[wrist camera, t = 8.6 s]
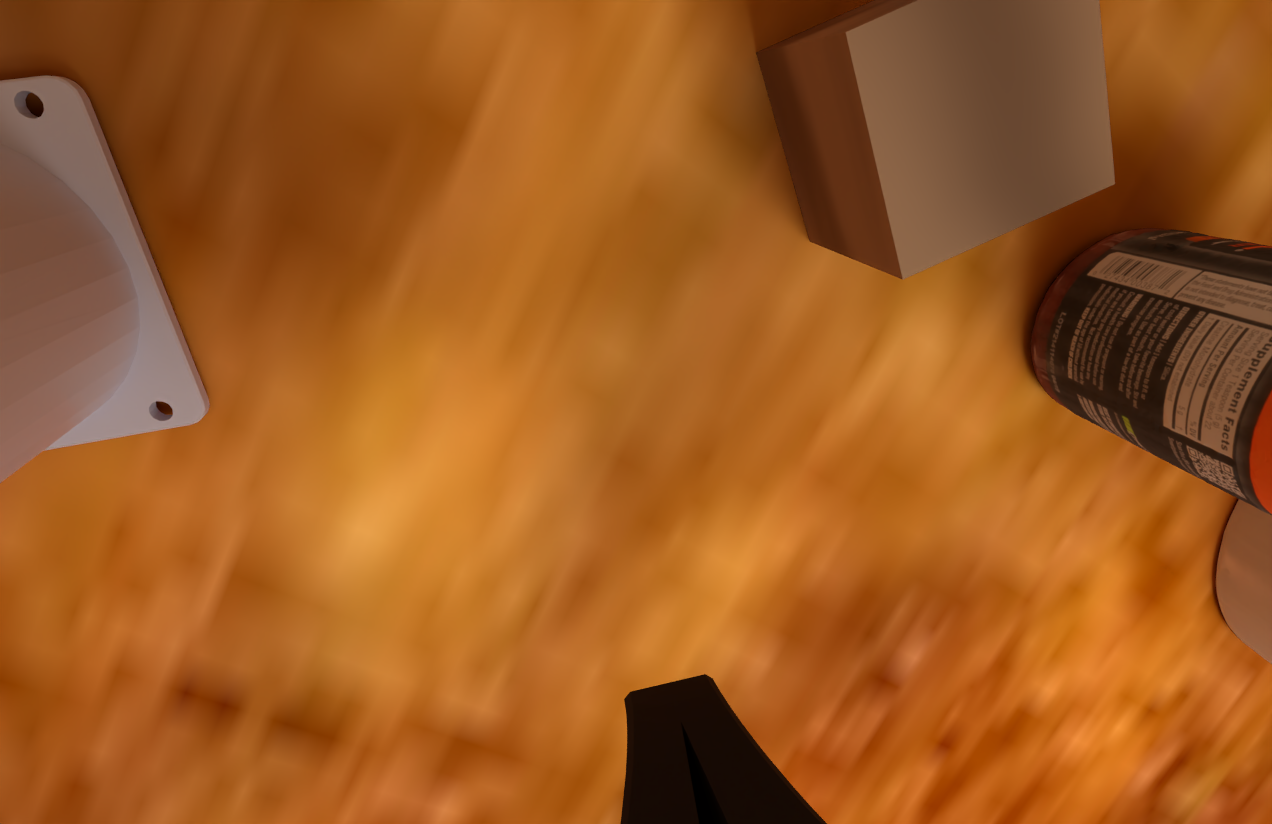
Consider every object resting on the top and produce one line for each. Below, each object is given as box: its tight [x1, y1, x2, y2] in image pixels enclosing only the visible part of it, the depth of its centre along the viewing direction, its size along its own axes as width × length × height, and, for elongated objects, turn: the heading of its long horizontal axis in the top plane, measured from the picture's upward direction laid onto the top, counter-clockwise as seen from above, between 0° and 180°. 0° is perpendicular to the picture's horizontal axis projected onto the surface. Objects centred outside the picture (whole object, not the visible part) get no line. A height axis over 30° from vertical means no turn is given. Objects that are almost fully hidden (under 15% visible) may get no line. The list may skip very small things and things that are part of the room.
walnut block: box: [756, 0, 1115, 279], centre depth 16 cm, size 5×5×5 cm
